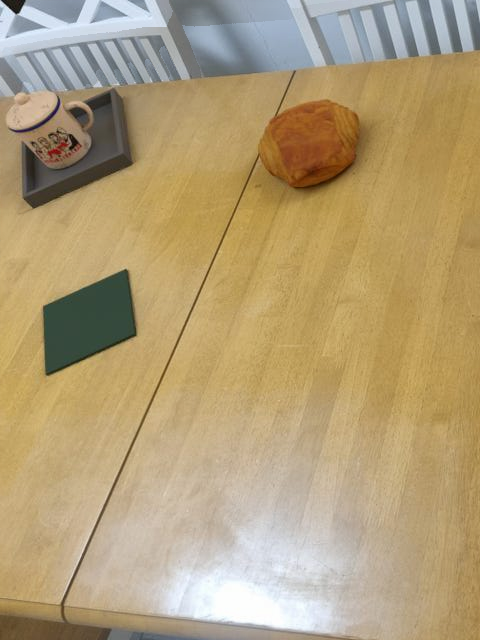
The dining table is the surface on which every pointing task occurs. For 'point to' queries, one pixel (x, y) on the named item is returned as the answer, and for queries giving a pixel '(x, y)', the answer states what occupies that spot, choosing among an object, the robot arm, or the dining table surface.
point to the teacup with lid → (50, 128)
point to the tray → (99, 161)
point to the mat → (88, 321)
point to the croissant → (310, 142)
